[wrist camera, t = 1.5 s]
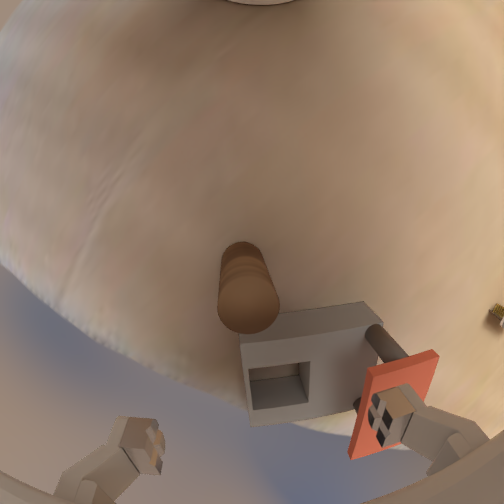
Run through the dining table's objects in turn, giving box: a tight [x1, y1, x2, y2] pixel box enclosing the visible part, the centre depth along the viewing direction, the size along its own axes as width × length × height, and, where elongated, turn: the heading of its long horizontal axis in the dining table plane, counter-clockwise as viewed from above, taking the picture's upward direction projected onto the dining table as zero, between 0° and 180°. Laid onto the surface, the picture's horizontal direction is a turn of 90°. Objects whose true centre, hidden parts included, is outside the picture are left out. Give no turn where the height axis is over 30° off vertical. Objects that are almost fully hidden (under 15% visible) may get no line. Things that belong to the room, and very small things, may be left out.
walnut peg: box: [217, 242, 280, 334], centre depth 23 cm, size 4×4×10 cm
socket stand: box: [239, 301, 439, 460], centre depth 25 cm, size 12×16×12 cm
